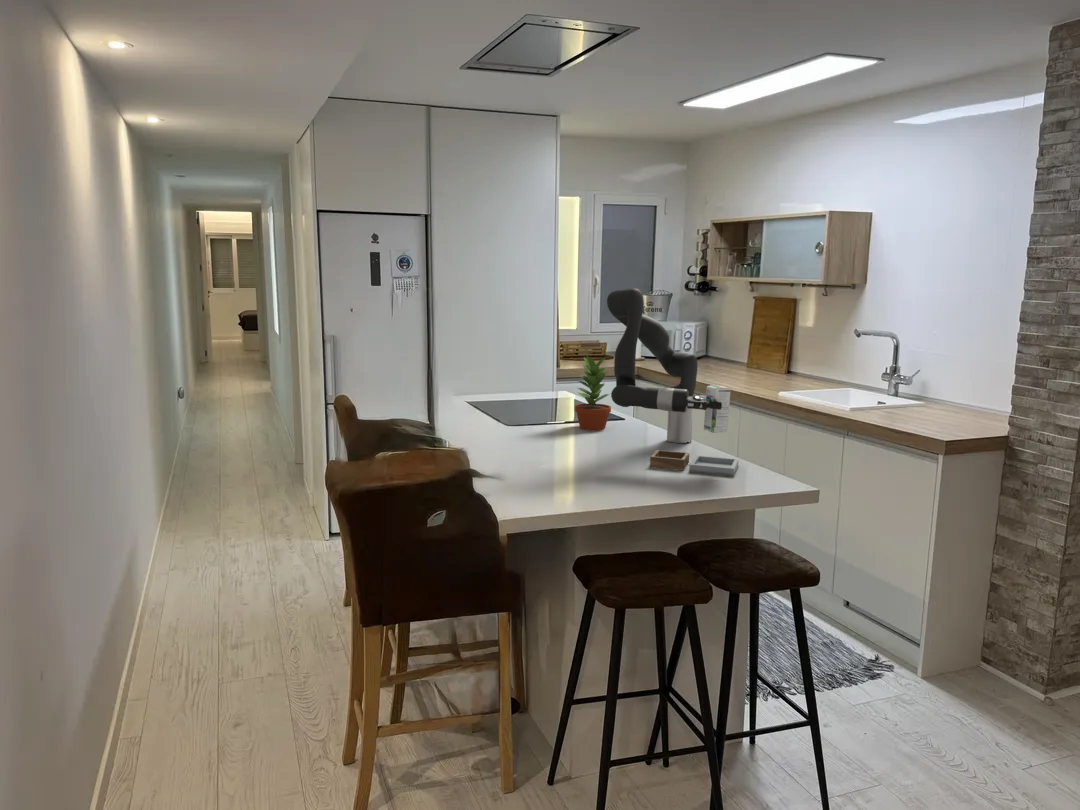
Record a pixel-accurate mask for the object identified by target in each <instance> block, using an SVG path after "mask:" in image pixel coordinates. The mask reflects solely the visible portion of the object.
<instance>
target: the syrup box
mask: <svg viewBox="0 0 1080 810" xmlns="http://www.w3.org/2000/svg"><path fill="white" fill-rule="evenodd" d="M731 390H732V389H731V388H730V387H726V386H723V385H717V384H715V385H713V384H712V385H707V386H706V394H705V396H706V401H711V402H721V403H722V408H721V409H706V410H704V419H703V420H704V421H703V430H704V431H707V432H710V433H711V434H712V433H713V434H717V433H718V434H719V433H728V429H729V428H728V425H729V413H730V400H731ZM709 403H710V402H709Z"/></svg>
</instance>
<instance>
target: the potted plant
mask: <svg viewBox="0 0 1080 810" xmlns="http://www.w3.org/2000/svg"><path fill="white" fill-rule="evenodd" d="M583 360H584V362H585V364H583V363H582V366H583V368H584V369H585V370H584V374H585V375H586V376H584V375H581V374H579V376H580V378H581V379H583V381H581V380H577V382H578V383H580V384H582V385H583V386H585V387H587V388H588V389H589V390H590V391H591V392H590V391H589V390H587V389H585V388H584V387H583V388H582V387H577V389H578V390H579V391H582V392H577V393H578V395H580V396H581V397H583V398H584V399H585V401H586V402H587V403H579V404H576V405H575V406H574V412H576V416H577V420H578V425H579V429H580V430H583V429H584V430H585V431H591V430H596V431H603V430H605V429H606V428H607V427H606V426H607V423H608V419H609V416H610V413H612V406H611V405H608V404H603V403H597V402H598V401H600V400H603V399H604V398H606V397H608V396H610V393H608V394H607V393H605V394H603V395H600V394H601V392H602V388H603V387H604V386H605V382H603V383H601V382H602V381H603V380H604V378H605V376H606V374H607V373H608V371H606V369H607V368H608V366H606V367H601V368H600V365H602V363H603V362H604V361H605V358H602V359H600V360H599V361H598V362H597V363H595V360H594V359H593V358H592V357H590V356H588V355H587V354H586V357H585V356H583ZM604 371H605V372H604Z"/></svg>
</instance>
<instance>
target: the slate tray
mask: <svg viewBox="0 0 1080 810" xmlns="http://www.w3.org/2000/svg"><path fill="white" fill-rule="evenodd" d="M739 463H740V461H739V458H731V457H720V456H709V455H698V454H696V455H695V456H694V457H693V458H692V460H691V462H689V464H688V465H689V466H688V467H689V468H688V472H689V473H693V472H697V473H696V474H703V473H706V475H714V474H718V475H717V476H724V475H728V476H727V477H735V475H734V474H736V473H737V470H738V468H739Z"/></svg>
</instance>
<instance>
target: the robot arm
mask: <svg viewBox="0 0 1080 810" xmlns="http://www.w3.org/2000/svg"><path fill="white" fill-rule="evenodd" d="M643 295H644V294H643V292H642V291H641V290H640V289H638V288H633V287H631V288H622V289H617V290H614V291H611V292H610V293H609V294H608V296H607V297H606V298H607V299H606V304H607V309H608V311H609V312H610V314H611V315H612V316H613V317H614V318H615V319H616V320H617V321H619V322H620V323H621V324H623V325H624V326H625V327H626V328H625V330H624V333H623V335H622V336H621V338H620V340H619V342H618V344H617V346H616V349H615V352H614V361H613V363H614V364H613V365H614V366H613V373H614V377H615V382H616V383H615V385H616V386H614V388H613V389H612V390H611V393H610V397H611V400H612V401H613V403H615V404H616V405H617V406H620V407H622V408H629V407H639V408H643V409H648V410H649V409H650V410H659V411H663V412H664V411H665V412H667V431H666V441H668V442H670V443H677V444H686V443H687V442H689V441H691V442H692V438H693V435H692V434H693V419H694V415H693V414H694V410H701V411H702V410H703V411H705V410H706V409H721V408H722V403H721V402H711V401H706V394H705V395H704V394H695V391H696V385H697V375H698V368H699V367H698V365H699V364H698V359H697V357H696V355H695V354H694V353H693V354H692V353H688V352H687V353H686V352H678V351H676V350H674V349H672V348H671V347H670V335H669V332H668V331H667V330H666V328H665V327H664V326H663V325H662V324H661V323H660V322H659V321H658V320H656V319H655V318H652V317H650V316H648V315H645V314H643V312H644V304H645V303H644V302H645V301H644V296H643ZM638 340H639V341H640V342H641V344H643V346H645V348H647V350H648V351H649V352H650V353H651V354H652V355H653V356H654V357H655V358H656V360H657V361H658V362H659V364H660V365H661V367H662V368H663V370H664V371H665V372H666V373H667V374H668V376H670V377H674V378H680V382H679V384H677V385H674V386H671V387H662V388H660V387H645V386H644V387H643V386H637V385H636V361H637V360H636V357H637V356H636V355H637V346H638V345H637V344H638ZM709 402H710V403H709ZM689 443H690V442H689ZM687 444H688V443H687Z"/></svg>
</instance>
